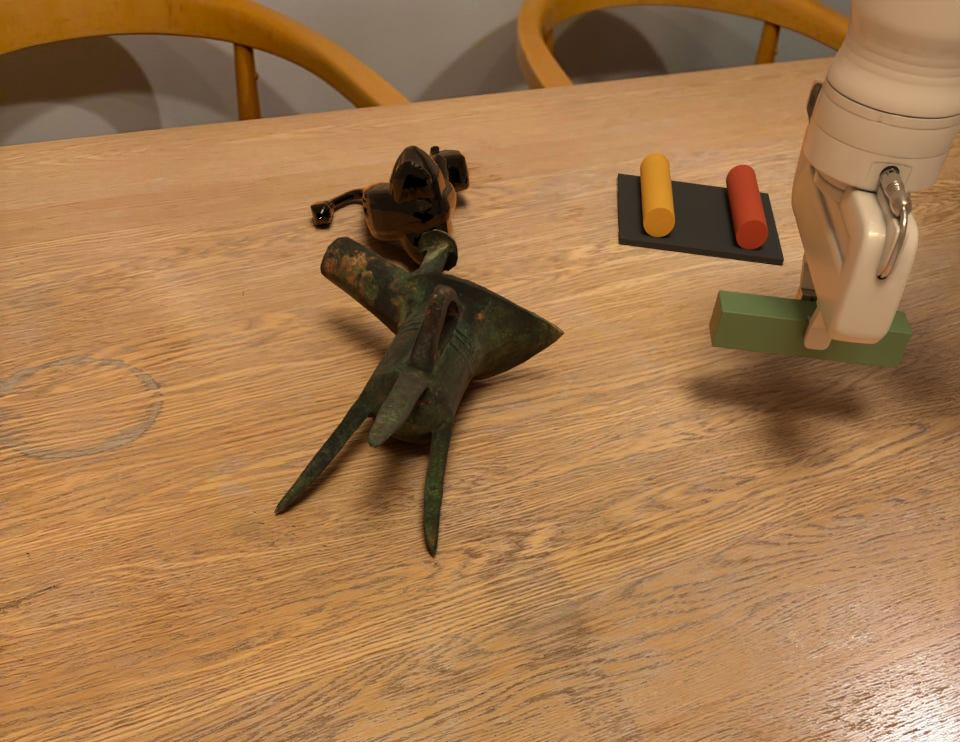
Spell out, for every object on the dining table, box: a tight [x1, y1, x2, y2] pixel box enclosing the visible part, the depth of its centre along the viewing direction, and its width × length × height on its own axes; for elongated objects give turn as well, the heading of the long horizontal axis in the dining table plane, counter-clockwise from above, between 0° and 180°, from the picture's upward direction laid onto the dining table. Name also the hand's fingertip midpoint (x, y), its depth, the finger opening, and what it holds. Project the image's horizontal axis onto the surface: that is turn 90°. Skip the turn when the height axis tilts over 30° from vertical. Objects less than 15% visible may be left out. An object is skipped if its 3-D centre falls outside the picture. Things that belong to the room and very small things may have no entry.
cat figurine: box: [309, 144, 471, 267], centre depth 95 cm, size 10×14×18 cm
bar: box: [708, 289, 914, 369], centre depth 76 cm, size 14×3×3 cm, turn 86°
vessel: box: [273, 229, 565, 557], centre depth 73 cm, size 19×12×25 cm
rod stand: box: [616, 152, 785, 266], centre depth 102 cm, size 16×14×4 cm
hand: (809, 327), depth 76 cm, fingers closed on bar, 3 cm apart
